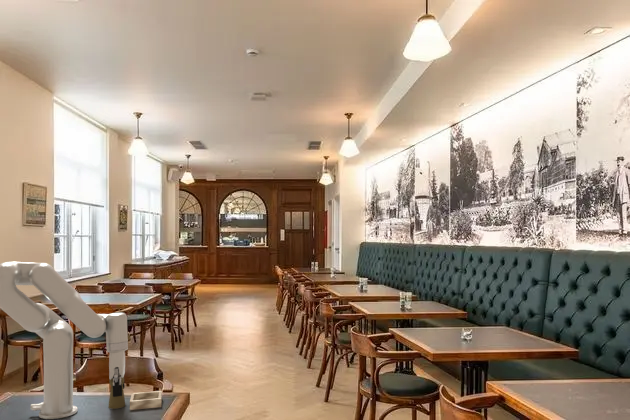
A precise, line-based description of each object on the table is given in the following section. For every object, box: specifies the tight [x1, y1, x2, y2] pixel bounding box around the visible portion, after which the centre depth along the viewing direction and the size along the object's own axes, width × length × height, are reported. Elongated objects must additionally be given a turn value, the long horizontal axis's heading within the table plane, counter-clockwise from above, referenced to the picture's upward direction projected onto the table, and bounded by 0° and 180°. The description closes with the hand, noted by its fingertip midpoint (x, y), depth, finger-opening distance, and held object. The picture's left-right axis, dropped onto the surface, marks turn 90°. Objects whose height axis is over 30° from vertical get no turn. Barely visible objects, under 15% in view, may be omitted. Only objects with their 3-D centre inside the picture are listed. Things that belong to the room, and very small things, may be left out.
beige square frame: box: [129, 390, 163, 411], centre depth 206 cm, size 11×11×3 cm
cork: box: [108, 376, 126, 410], centre depth 205 cm, size 6×6×11 cm
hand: (118, 392), depth 205 cm, fingers open, 9 cm apart
